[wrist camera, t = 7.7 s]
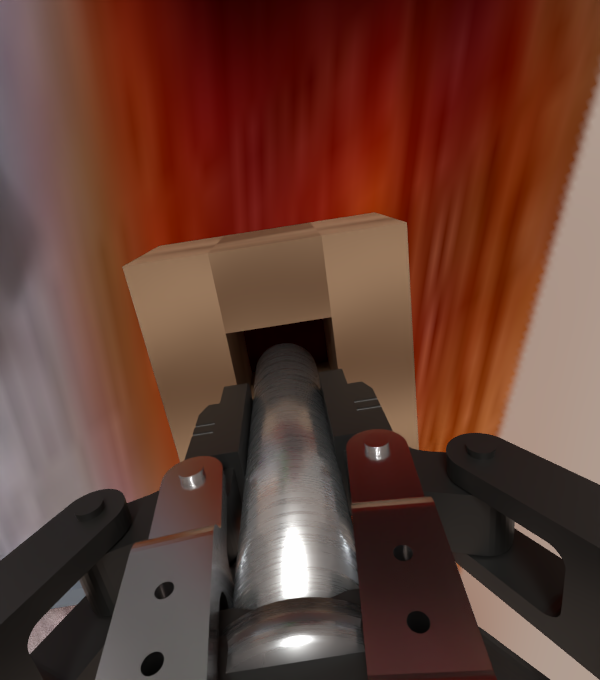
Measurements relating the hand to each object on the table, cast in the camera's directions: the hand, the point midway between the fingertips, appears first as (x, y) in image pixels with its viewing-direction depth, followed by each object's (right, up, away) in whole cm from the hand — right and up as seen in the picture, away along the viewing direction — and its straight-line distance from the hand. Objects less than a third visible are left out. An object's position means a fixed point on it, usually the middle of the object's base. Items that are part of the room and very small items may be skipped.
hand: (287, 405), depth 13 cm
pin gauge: (0, +1, +2) cm, 3 cm away
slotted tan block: (0, +2, +6) cm, 7 cm away
